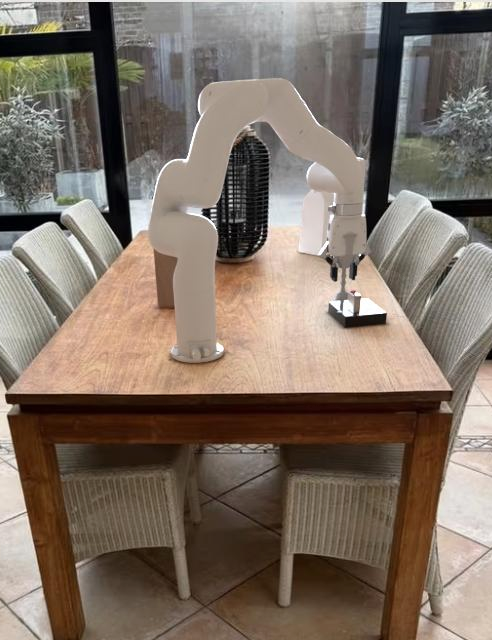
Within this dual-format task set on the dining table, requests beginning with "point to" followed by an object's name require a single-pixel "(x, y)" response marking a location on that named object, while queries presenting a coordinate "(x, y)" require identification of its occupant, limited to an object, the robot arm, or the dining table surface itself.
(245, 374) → the dining table surface
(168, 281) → the block
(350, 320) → the black knob base
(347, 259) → the chalice
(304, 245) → the milk
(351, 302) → the box with red tab
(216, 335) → the robot arm
